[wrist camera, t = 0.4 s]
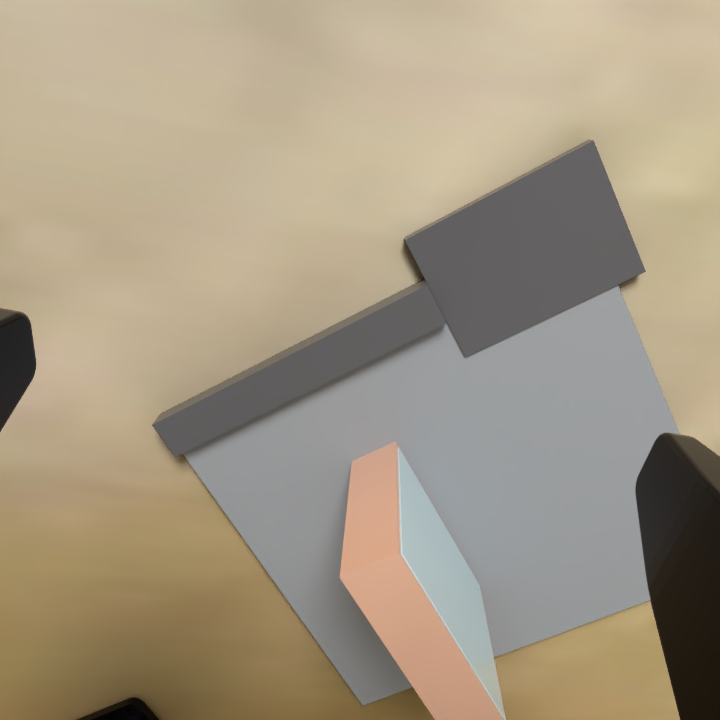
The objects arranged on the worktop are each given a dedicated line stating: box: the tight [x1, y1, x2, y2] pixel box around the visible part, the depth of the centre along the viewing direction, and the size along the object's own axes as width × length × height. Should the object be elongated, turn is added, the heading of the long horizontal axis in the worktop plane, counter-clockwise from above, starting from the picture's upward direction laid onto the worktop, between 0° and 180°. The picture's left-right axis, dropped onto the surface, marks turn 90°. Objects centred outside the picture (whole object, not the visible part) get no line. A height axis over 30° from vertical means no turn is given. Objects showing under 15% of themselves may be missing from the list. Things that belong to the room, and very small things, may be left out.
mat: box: [182, 285, 680, 706], centre depth 27 cm, size 18×16×1 cm
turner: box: [152, 140, 646, 457], centre depth 24 cm, size 19×5×1 cm, turn 118°
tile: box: [340, 441, 506, 720], centre depth 24 cm, size 2×8×7 cm, turn 29°
